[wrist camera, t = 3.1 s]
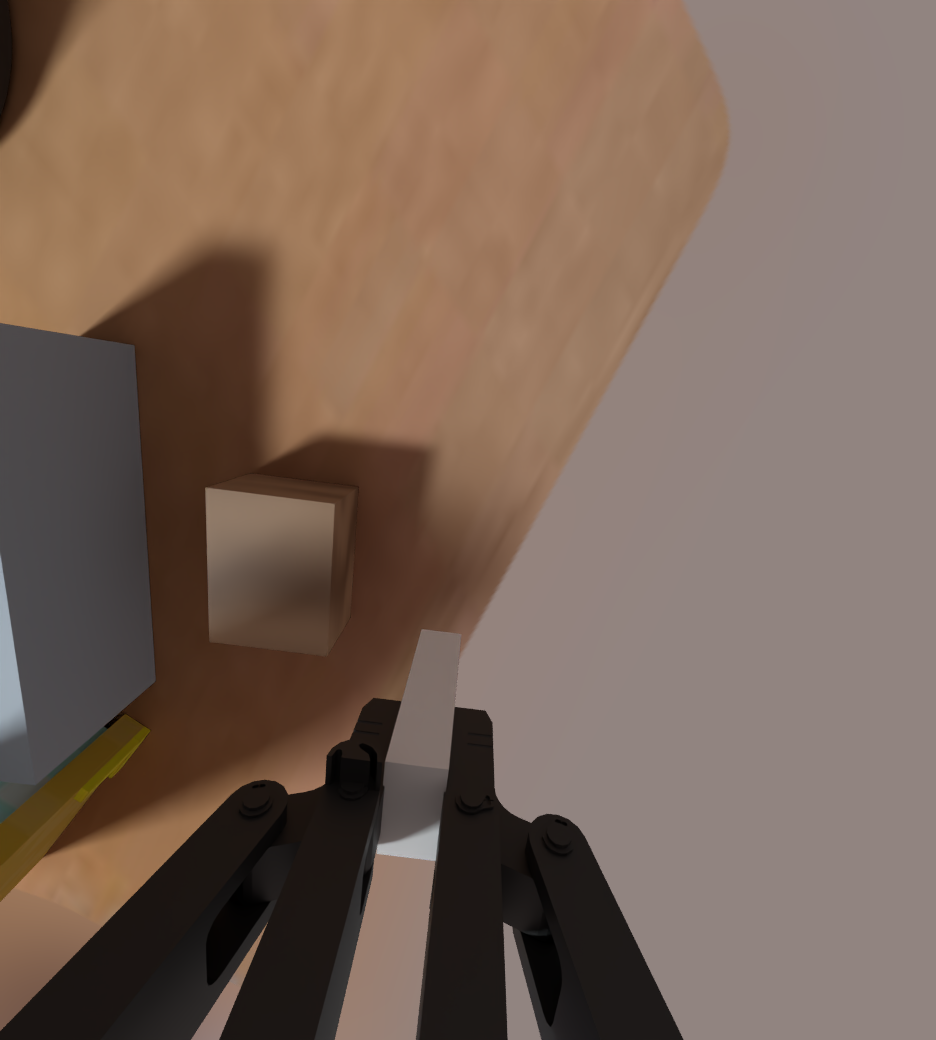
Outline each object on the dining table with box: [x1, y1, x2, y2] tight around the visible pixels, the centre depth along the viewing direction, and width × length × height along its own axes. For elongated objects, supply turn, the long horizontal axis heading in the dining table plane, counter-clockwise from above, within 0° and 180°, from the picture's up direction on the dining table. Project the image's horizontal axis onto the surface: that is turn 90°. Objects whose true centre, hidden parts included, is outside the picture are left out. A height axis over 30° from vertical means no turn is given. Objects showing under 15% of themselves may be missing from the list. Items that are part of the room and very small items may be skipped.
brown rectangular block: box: [205, 473, 359, 656], centre depth 24 cm, size 8×6×4 cm
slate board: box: [0, 323, 156, 785], centre depth 22 cm, size 20×3×8 cm, turn 173°
